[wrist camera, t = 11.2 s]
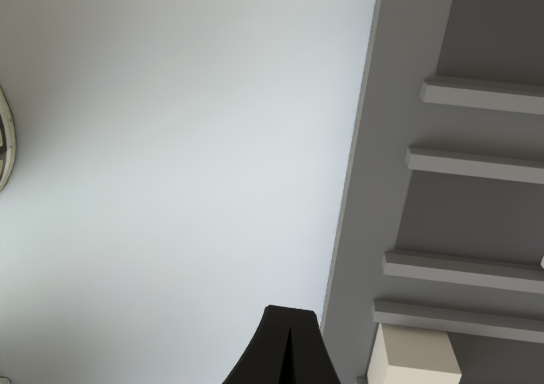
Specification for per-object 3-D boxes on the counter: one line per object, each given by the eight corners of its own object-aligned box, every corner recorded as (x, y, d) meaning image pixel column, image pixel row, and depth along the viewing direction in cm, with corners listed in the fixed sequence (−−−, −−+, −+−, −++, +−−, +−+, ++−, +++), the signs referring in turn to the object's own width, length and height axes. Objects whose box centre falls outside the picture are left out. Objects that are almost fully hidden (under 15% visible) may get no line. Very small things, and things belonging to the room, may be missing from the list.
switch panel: (314, 362, 26) (314, 397, 24) (389, -83, 17) (400, -90, 14) (576, 396, 25) (600, 434, 23) (804, -44, 16) (877, -46, 14)
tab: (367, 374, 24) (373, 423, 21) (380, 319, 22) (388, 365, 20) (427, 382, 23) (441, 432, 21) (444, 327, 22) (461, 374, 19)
